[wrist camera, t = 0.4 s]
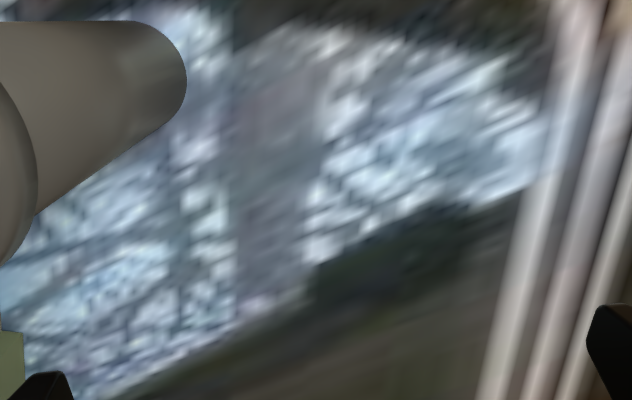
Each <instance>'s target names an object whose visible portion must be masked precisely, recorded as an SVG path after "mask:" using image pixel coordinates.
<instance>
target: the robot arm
mask: <svg viewBox="0 0 632 400" xmlns="http://www.w3.org/2000/svg"><path fill="white" fill-rule="evenodd" d="M586 346H587V350H588V353H589V355H590V357H591V359H592V361H593V363H594V365H595V367H596V369H597V371H598V373H599V375H600V377H601V379H602V381H603V383H604V385H605V387H606V389H607V390H608V392H609V394H610V396H611V398H612V400H632V307H631V306H629V305H627V304H624V303H614V304H605V305H601V306H599V307H598V308H597V309H596V311H595V314H594V317H593V320H592V323H591V326H590V329H589V331H588V334H587V338H586ZM7 400H74V398H73V395H72V392H71V390H70V387H69V384H68V381H67V379H66V376H65V374H64V373H63V372H62V371H58V370H56V371H48V372H40V373H35V374H33V375H32V376H30V377H29V378H28V379H27V380H26V381H25V382H24V383H23V384H22V385H21V386H20V387H19V388H18V389H17V390H16V391H15V392H14V393H13V394H12V395H11V396H10V397H9V398H8V399H7Z"/></svg>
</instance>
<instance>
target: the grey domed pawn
mask: <svg viewBox="0 0 632 400" xmlns="http://www.w3.org/2000/svg"><path fill="white" fill-rule="evenodd" d="M186 87H187V76H186V70H185V66H184V63H183V60H182V58H181V56H180V54H179V52H178V50H177V49H176V47H175V46H174V45H173V43H172V42H171V41H170V40H169V39H168V38H167V37H166V36H165V35H164V34H162V33H161V32H160V31H158V30H157V29H155V28H153V27H151V26H149V25H147V24H144V23H141V22H136V21H127V20H126V21H33V22H0V267H1V266H3V265H4V264H5V263H6V262H7V261H8V260H9V259H10V258H11V257H12V256H13V255H14V253H15V252H16V251H17V249H18V248H19V247H20V246H21V244H22V242H23V240H24V239H25V237H26V235H27V233H28V231H29V229H30V226H31V223H32V220H33V218H34V216H35V215H36V214H38V213H39V212H41V211H42V210H43V209H45V208H46V207H48V206H49V205H50V204H52V203H53V202H55V201H56V200H57V199H59V198H60V197H62V196H63V195H64V194H66V193H67V192H69V191H70V190H72V189H73V188H74V187H76V186H77V185H79V184H80V183H81V182H83V181H84V180H86V179H87V178H88V177H90V176H91V175H93V174H94V173H95V172H97V171H98V170H100V169H101V168H102V167H104V166H105V165H107V164H108V163H110V162H111V161H112V160H114V159H115V158H117V157H118V156H119V155H121V154H122V153H124V152H125V151H126V150H128V149H129V148H131V147H132V146H133V145H135V144H136V143H138V142H139V141H141V140H142V139H143V138H145V137H146V136H148V135H149V134H150V133H152V132H153V131H155V130H156V129H157V128H159V127H160V126H162V125H163V124H164V123H166V122H167V121H169V120H170V119H171V118H172V117H173V116H174V115H175V114H176V113H177V111H178V110H179V108H180V107H181V105H182V103H183V100H184V97H185V93H186Z"/></svg>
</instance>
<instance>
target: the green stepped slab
mask: <svg viewBox="0 0 632 400" xmlns="http://www.w3.org/2000/svg"><path fill="white" fill-rule="evenodd" d="M24 382H25V366H24V348H23V333H18V332H9V331H2V328H1V314H0V400H7V399H8V398H9V397H10V396H11V395H12V394H13V393H14V392H15V391H16V390H17V389H18V388H19V387H20V386H21V385H22V384H23V383H24Z"/></svg>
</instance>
